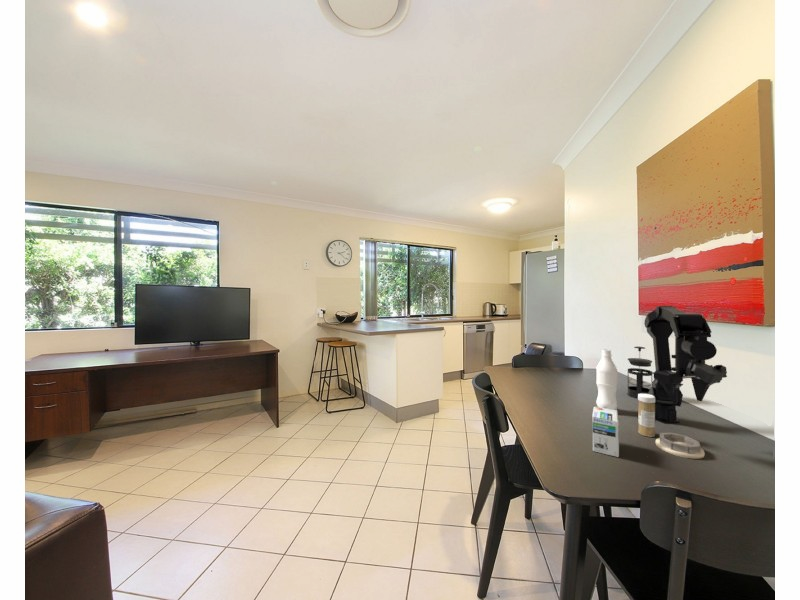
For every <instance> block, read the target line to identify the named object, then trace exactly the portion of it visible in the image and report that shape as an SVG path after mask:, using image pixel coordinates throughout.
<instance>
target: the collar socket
mask: <svg viewBox="0 0 800 600" xmlns="http://www.w3.org/2000/svg"><path fill="white" fill-rule="evenodd" d="M655 445H656V447H657V448H658V449H660V450H662V451H663V452H666V453H667V454H670V455H674V456H676V457H681V458H686V459H694V460H698V459H699V460H701V459H703V458H705V455H706V454H705V450H704V449H703V448H702V447H701V443H700V441H698V440H696V439H694V438H692V437H690V436H687V435H683V434H679V433H675V432H659V437H657V438H656V439H655Z"/></svg>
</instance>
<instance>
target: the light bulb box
mask: <svg viewBox="0 0 800 600" xmlns="http://www.w3.org/2000/svg"><path fill="white" fill-rule="evenodd" d="M591 416H592V452H596V453H600V454H603V455H608V456H612V457H616V458H619V456H620V431H619V427H620V426H619V425H620V424H619V411H618V410H611V409H605V408H600V407H598V406H594V407H593V409H592V415H591Z"/></svg>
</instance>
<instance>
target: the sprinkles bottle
mask: <svg viewBox="0 0 800 600" xmlns="http://www.w3.org/2000/svg"><path fill="white" fill-rule="evenodd" d="M637 400H638V414H637V415H638V417H637V420H638V430H637V432H638V434H640V435H641V436H644V437H647V438H648V437H649V438H652V437H656V434H655V428H656V419H655V397H654V396H653V395H650V394H638V399H637Z"/></svg>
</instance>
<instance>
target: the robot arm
mask: <svg viewBox="0 0 800 600" xmlns="http://www.w3.org/2000/svg"><path fill="white" fill-rule="evenodd" d="M707 321H708V320H706V318H705V317H704V315H702V314H701V313H688V312H684V311H683V310H679V309H677V308H676V307H675V306H672V305H659V306H656V307H655V309H654V310H653V311H650V312H649V313H647V314H646V316H645V319H644V323H643V325H644V327H645V328H646V332H647V334H648V335H649V336H650V337H651V339H652V342H653V343H652V345H653V357H654V367H655V371H653V372H654V374H653V379H652V382H651V386H650V388H649V389H650V390H649V392H648V394H650V395H653V396H654V397H655V421H659V422H661V423H664V424H669V423H680V422H681V421H680V420H679V419H677V417H678V416H677V415H678V414H677V409H676V408H677V407H680V408H681V407H682V403H683V402H682V401H683V395H684V394H683V393H682V391H681V389H680V388H681V387H682V386H683V385H684V384H683V383H682V382H683V381H684V379H691V383H692V386H693V390H694V394H695V397H696V398H695V399H696V400H697V401H698V402H702V401H703V400H704V397H705V395H706V394H707V392H708V390H709V389H710V386H712V385H714V384H720V383H721V381H723V378H724V379H725V378H727V377H728V375H727V373H728V371H727V367H726V366H724V365H723V364H715V365H712V364H711V365H709V364H707V363H706V361H708V360H711V359H713V358H714V357H715V356H716V355H717V347H716V345H715V344H714V343H713V342H711V341H709V340H708V338H711V337H712V330H711V328H710V326H709V324H708V322H707ZM673 333H674V337H675V338H674V340H675V341H674V342H675V343H674V345H675V346H674V351H675V354H671V353H670V342H669V341H670V340H669V338H670V336H671V335H672V334H673ZM671 359H674V366H673V367H672V362H671Z"/></svg>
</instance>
